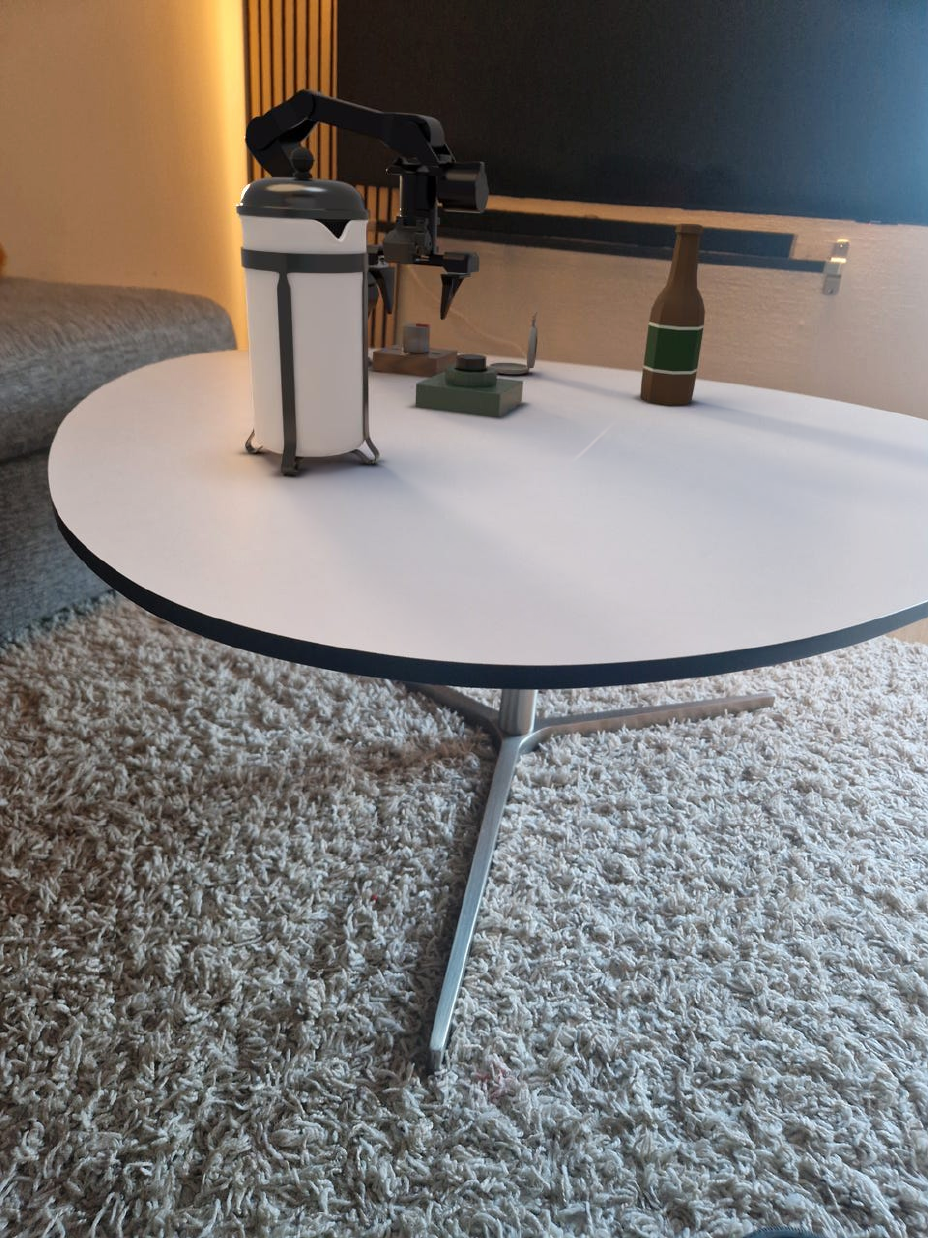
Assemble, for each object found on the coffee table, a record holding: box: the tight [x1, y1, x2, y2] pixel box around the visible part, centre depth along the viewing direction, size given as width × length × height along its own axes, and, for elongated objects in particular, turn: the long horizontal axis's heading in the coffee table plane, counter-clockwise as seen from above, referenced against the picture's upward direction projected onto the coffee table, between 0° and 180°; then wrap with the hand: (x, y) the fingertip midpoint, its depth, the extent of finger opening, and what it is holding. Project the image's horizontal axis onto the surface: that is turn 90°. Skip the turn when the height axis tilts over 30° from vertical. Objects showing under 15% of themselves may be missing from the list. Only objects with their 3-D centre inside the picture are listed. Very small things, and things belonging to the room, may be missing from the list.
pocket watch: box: [488, 310, 538, 376], centre depth 145 cm, size 8×8×10 cm
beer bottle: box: [639, 223, 706, 406], centre depth 128 cm, size 8×8×24 cm
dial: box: [401, 322, 431, 353], centre depth 144 cm, size 4×4×4 cm
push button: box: [456, 353, 487, 372], centre depth 122 cm, size 4×4×2 cm
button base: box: [415, 365, 524, 419], centre depth 123 cm, size 12×10×5 cm
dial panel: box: [372, 343, 458, 378], centre depth 146 cm, size 11×9×3 cm
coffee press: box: [235, 146, 381, 476], centre depth 92 cm, size 17×16×30 cm
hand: (416, 316), depth 143 cm, fingers open, 9 cm apart
